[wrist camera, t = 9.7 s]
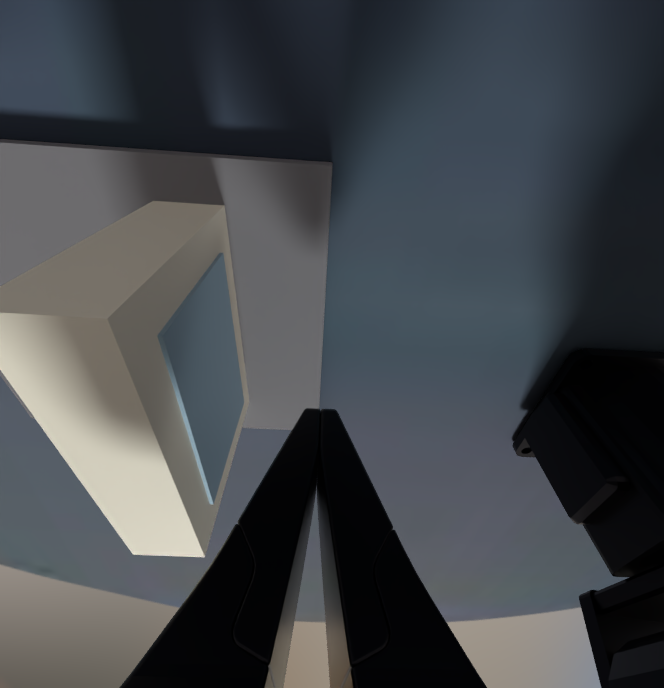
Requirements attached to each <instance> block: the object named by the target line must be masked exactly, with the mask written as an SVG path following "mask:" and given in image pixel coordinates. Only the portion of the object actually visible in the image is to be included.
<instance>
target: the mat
mask: <svg viewBox="0 0 664 688" xmlns="http://www.w3.org/2000/svg"><path fill="white" fill-rule="evenodd" d="M332 164H333V162H320V161H306V160H292V159H278V158H264V157H249V156H235V155H221V154H207V153H193V152H178V151H164V150H150V149H136V148H122V147H108V146H93V145H79V144H65V143H51V142H37V141H23V140H8V139H0V286H2V285H3V284H5V283H7V282H9V281H11V280H12V279H14V278H16V277H18V276H19V275H21V274H23V273H25V272H27V271H28V270H30V269H32V268H34V267H36V266H37V265H39V264H41V263H43V262H45V261H46V260H48V259H50V258H52V257H53V256H55V255H57V254H59V253H61V252H62V251H64V250H66V249H68V248H70V247H71V246H73V245H75V244H77V243H79V242H80V241H82V240H84V239H86V238H87V237H89V236H91V235H93V234H95V233H96V232H98V231H100V230H102V229H104V228H105V227H107V226H109V225H111V224H113V223H114V222H116V221H118V220H120V219H121V218H123V217H125V216H127V215H129V214H130V213H132V212H134V211H136V210H138V209H139V208H141V207H143V206H145V205H147V204H148V203H150V202H152V201H165V202H179V203H194V204H209V205H224V206H225V213H226V221H227V229H228V236H229V244H230V252H231V260H232V268H233V276H234V284H235V292H236V300H237V308H238V316H239V324H240V331H241V339H242V347H243V355H244V363H245V371H246V379H247V387H248V395H249V404H248V407H247V411H246V414H245V418H244V422H243V425H242V428H258V429H280V430H292V429H293V428H294V426H295V424H296V422H297V421H298V419H299V417H300V416H301V414H302V412H303V411H304V410H305V409H306V408H318V409H319V401H320V382H321V364H322V346H323V328H324V310H325V292H326V273H327V255H328V237H329V219H330V201H331V183H332ZM0 376H1V377H2V378H3V380H4V381H5V383H6V384H7V385H8V387H9V388H10V389H11V391H12V392H13V393H14V395H15V396H16V398H17V399H18V400H19V402H20V403H21V404H22V406H23V407H24V408H25V410H26V411H27V413H28V414H29V415H30V417H31V418H34V416H33V415H32V413H31V412H30V411H29V409H28V408H27V406H26V405H25V404H24V402H23V401H22V399H21V398H20V397H19V395H18V394H17V393H16V391H15V390H14V388H13V387H12V386H11V384H10V383H9V381H8V380H7V379H6V377H5V376H4V374H3V373H2V372H1V370H0Z"/></svg>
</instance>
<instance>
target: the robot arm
mask: <svg viewBox="0 0 664 688" xmlns="http://www.w3.org/2000/svg"><path fill="white" fill-rule="evenodd" d="M513 448H514V450H515V452H516V454H517V455H518V456H521V457H536V459H537V460H538V462H539V464H540V466H541V468H542V469H543V471H544V473H545V475H546V477H547V478H548V480H549V482H550V484H551V485H552V487H553V489H554V491H555V493H556V494H557V496H558V498H559V500H560V502H561V503H562V505H563V507H564V509H565V510H566V512H567V514H568V516H569V517H570V518H571V519H572V521H573V522H574V523H576V524H583V526H584V528H585V529H586V531H587V533H588V534H589V536H590V538H591V540H592V541H593V543H594V545H595V547H596V548H597V550H598V552H599V553H600V555H601V557H602V559H603V560H604V562H605V564H606V565H607V567H608V569H609V571H610V572H611V574H612V575H613V576H615V577H630V578H627V579H625V580H623V581H620V582H618V583H616V584H613V585H611V586H608V587H606V588H604V589H601V590H599V591H596V590H590V591H588V592H586V593H583V594H581V595H580V596H579V600H580V604H581V608H582V612H583V616H584V620H585V624H586V628H587V632H588V636H589V640H590V644H591V647H592V652H593V655H594V659H595V664H596V668H597V671H598V676H599V680H600V684H601V687H602V688H664V353H658V352H640V351H621V350H603V349H580V350H577V351H575V352H573V353H572V354H570V355H569V356H568V358H567V359H566V361H565V362H564V364H563V365H562V367H561V368H560V370H559V372H558V373H557V375H556V376H555V378H554V380H553V381H552V383H551V384H550V386H549V387H548V389H547V391H546V392H545V394H544V395H543V397H542V399H541V400H540V402H539V403H538V405H537V406H536V408H535V410H534V411H533V413H532V414H531V416H530V418H529V419H528V421H527V422H526V424H525V425H524V427H523V429H522V430H521V432H520V433H519V435H518V437H517V438H516V440H515V441H514V443H513ZM317 470H318V471H317ZM316 486H317V505H318V520H319V534H320V548H321V563H322V577H323V591H324V606H325V620H326V634H327V648H328V663H329V677H330V688H487V687H486V685H485V684H484V682H483V681H482V679H481V678H480V676H479V675H478V673H477V672H476V670H475V668H474V667H473V665H472V663H471V662H470V660H469V659H468V657H467V655H466V654H465V652H464V650H463V649H462V647H461V646H460V644H459V642H458V641H457V639H456V637H455V636H454V634H453V633H452V631H451V629H450V628H449V626H448V625H447V623H446V621H445V620H444V618H443V616H442V615H441V613H440V612H439V610H438V608H437V607H436V605H435V603H434V602H433V600H432V599H431V597H430V595H429V593H428V592H427V590H426V588H425V587H424V585H423V583H422V581H421V580H420V578H419V576H418V575H417V573H416V571H415V569H414V567H413V565H412V563H411V561H410V559H409V557H408V556H407V554H406V552H405V550H404V548H403V546H402V544H401V542H400V540H399V538H398V536H397V533H396V531H395V530H392V529H393V526H392V524H391V521H390V519H389V517H388V515H387V513H386V511H385V509H384V507H383V505H382V503H381V501H380V499H379V497H378V495H377V493H376V490H375V488H374V486H373V484H372V482H371V480H370V478H369V476H368V474H367V472H366V470H365V468H364V466H363V464H362V462H361V459H360V457H359V455H358V453H357V451H356V449H355V447H354V445H353V443H352V441H351V439H350V437H349V435H348V433H347V431H346V428H345V426H344V424H343V422H342V420H341V418H340V416H339V414H338V412H337V411H336V410H335V409H322V410H321V414H320V409H318V408H306V409H305V410H304V411H303V412H302V414H301V416H300V417H299V419H298V421H297V422H296V424H295V426H294V428H293V429H292V431H291V433H290V434H289V436H288V438H287V439H286V441H285V443H284V444H283V446H282V448H281V449H280V451H279V453H278V454H277V456H276V458H275V459H274V461H273V463H272V464H271V466H270V468H269V470H268V471H267V473H266V475H265V476H264V478H263V480H262V481H261V483H260V485H259V486H258V488H257V490H256V491H255V493H254V495H253V496H252V498H251V500H250V501H249V503H248V505H247V506H246V508H245V510H244V512H243V513H242V515H241V517H240V518H239V520H238V524H236V525H235V526H234V528H233V530H232V531H231V533H230V535H229V536H228V538H227V540H226V541H225V543H224V545H223V546H222V548H221V549H220V551H219V552H218V554H217V556H216V557H215V559H214V560H213V562H212V563H211V565H210V566H209V568H208V569H207V571H206V572H205V574H204V575H203V576H202V578H201V579H200V581H199V582H198V584H197V585H196V586H195V588H194V589H193V591H192V592H191V593H190V595H189V596H188V597H187V599H186V600H185V602H184V603H183V604H182V606H181V607H180V608H179V610H178V611H177V612H176V614H175V615H174V616H173V618H172V619H171V620H170V622H169V623H168V624H167V626H166V627H165V628H164V630H163V631H162V633H161V634H160V635H159V637H158V638H157V640H156V641H155V642H154V643H153V645H152V646H151V647H150V649H149V650H148V651H147V653H146V654H145V655H144V657H143V658H142V660H141V661H140V662H139V663H138V665H137V666H136V667H135V669H134V670H133V671H132V673H131V674H130V675H129V676H128V678H127V679H126V680H125V681H124V683H123V684H122V685H121V686H120V688H283V685H284V679H285V674H286V668H287V662H288V656H289V650H290V644H291V638H292V632H293V626H294V620H295V615H296V609H297V603H298V597H299V591H300V585H301V579H302V573H303V567H304V561H305V555H306V549H307V544H308V538H309V532H310V526H311V520H312V514H313V508H314V502H315V495H316Z"/></svg>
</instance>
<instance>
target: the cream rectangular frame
mask: <svg viewBox="0 0 664 688" xmlns="http://www.w3.org/2000/svg"><path fill="white" fill-rule="evenodd" d="M0 370H1V372H2V373H3V374H4V376H5V377H6V379H7V380H8V381H9V383H10V384H11V386H12V387H13V388H14V390H15V391H16V393H17V394H18V395H19V397H20V398H21V399H22V401H23V402H24V404H25V405H26V406H27V408H28V409H29V411H30V412H31V413H32V415H33V416H34V418H35V419H36V420H37V422H38V423H39V424H40V426H41V427H42V429H43V430H44V431H45V433H46V434H47V436H48V437H49V438H50V440H51V441H52V443H53V444H54V445H55V447H56V448H57V449H58V451H59V452H60V454H61V455H62V456H63V458H64V459H65V461H66V462H67V463H68V465H69V466H70V468H71V469H72V470H73V472H74V473H75V475H76V476H77V477H78V479H79V480H80V481H81V483H82V484H83V486H84V487H85V488H86V490H87V491H88V493H89V494H90V495H91V497H92V498H93V500H94V501H95V502H96V504H97V505H98V506H99V508H100V509H101V511H102V512H103V513H104V515H105V516H106V518H107V519H108V520H109V522H110V523H111V525H112V526H113V527H114V529H115V530H116V531H117V533H118V534H119V536H120V537H121V538H122V540H123V541H124V543H125V544H126V545H127V547H128V548H129V550H130V551H131V552H132V554H133V555H157V556H186V557H205V555H206V552H207V548H208V545H209V541H210V538H211V534H212V530H213V527H214V523H215V520H216V516H217V513H218V509H219V506H220V502H221V499H222V495H223V492H224V488H225V485H226V481H227V478H228V474H229V471H230V467H231V464H232V460H233V457H234V453H235V450H236V446H237V443H238V439H239V436H240V432H241V429H242V425H243V422H244V418H245V414H246V411H247V407H248V404H249V395H248V387H247V379H246V371H245V363H244V355H243V347H242V339H241V331H240V324H239V316H238V308H237V300H236V292H235V284H234V276H233V268H232V260H231V252H230V244H229V236H228V229H227V221H226V213H225V206H224V205H209V204H194V203H179V202H165V201H152V202H150V203H148V204H147V205H145V206H143V207H141V208H139V209H138V210H136V211H134V212H132V213H130V214H129V215H127V216H125V217H123V218H121V219H120V220H118V221H116V222H114V223H113V224H111V225H109V226H107V227H105V228H104V229H102V230H100V231H98V232H96V233H95V234H93V235H91V236H89V237H87V238H86V239H84V240H82V241H80V242H79V243H77V244H75V245H73V246H71V247H70V248H68V249H66V250H64V251H62V252H61V253H59V254H57V255H55V256H53V257H52V258H50V259H48V260H46V261H45V262H43V263H41V264H39V265H37V266H36V267H34V268H32V269H30V270H28V271H27V272H25V273H23V274H21V275H19V276H18V277H16V278H14V279H12V280H11V281H9V282H7V283H5V284H3V285H2V286H0Z"/></svg>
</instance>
